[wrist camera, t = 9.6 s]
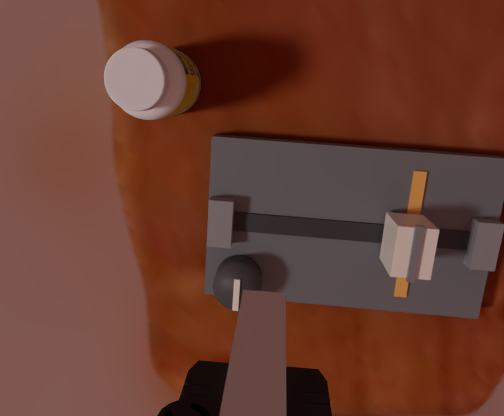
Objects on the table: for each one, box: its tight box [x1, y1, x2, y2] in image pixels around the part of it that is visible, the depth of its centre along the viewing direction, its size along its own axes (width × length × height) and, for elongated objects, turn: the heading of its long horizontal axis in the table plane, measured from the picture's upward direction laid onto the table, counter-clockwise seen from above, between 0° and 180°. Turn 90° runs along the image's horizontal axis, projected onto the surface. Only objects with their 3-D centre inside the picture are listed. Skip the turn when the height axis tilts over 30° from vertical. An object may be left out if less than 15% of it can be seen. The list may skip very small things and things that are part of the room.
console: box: [205, 134, 504, 319], centre depth 39 cm, size 14×24×5 cm, turn 86°
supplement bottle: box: [104, 40, 201, 120], centre depth 34 cm, size 5×5×10 cm
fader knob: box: [379, 212, 439, 283], centre depth 36 cm, size 4×3×4 cm
